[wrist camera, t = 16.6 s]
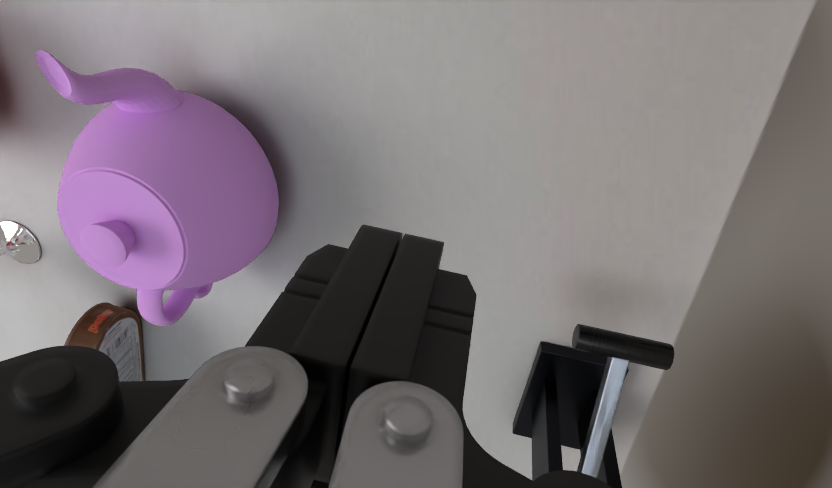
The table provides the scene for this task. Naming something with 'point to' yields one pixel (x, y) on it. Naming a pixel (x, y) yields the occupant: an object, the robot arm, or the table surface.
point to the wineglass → (18, 242)
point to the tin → (112, 338)
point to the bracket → (563, 409)
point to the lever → (613, 381)
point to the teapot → (161, 188)
